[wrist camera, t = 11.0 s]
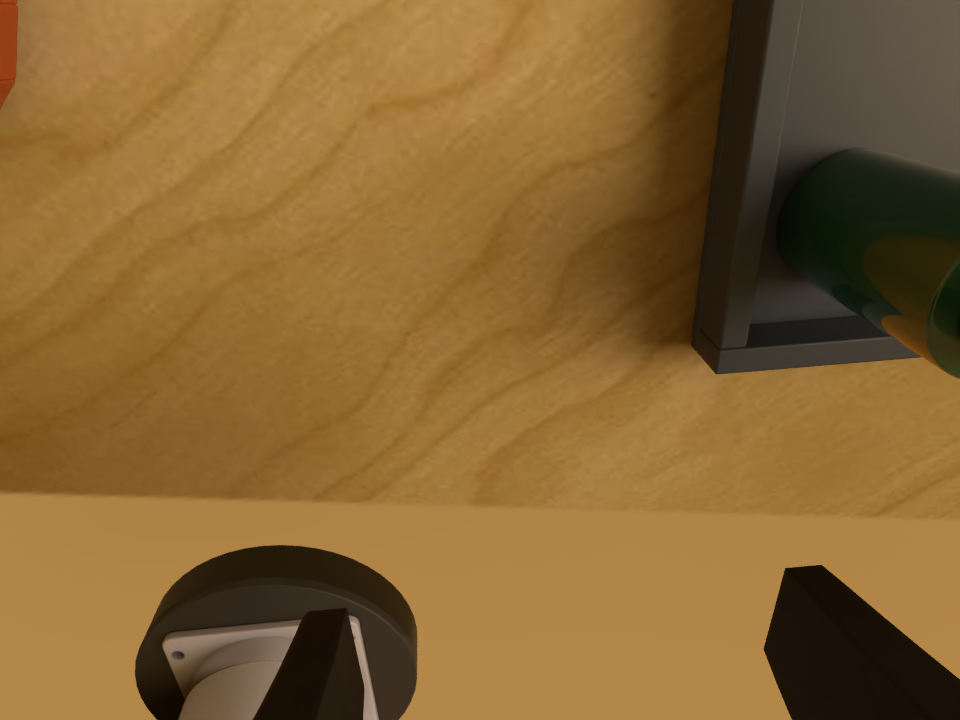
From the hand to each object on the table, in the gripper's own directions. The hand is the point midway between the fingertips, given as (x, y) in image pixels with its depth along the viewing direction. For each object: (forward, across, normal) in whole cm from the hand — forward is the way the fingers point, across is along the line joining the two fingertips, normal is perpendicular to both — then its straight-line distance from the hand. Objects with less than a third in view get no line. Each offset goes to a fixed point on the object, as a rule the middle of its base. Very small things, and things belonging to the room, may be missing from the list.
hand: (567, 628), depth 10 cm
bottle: (+10, -10, -4) cm, 14 cm away
